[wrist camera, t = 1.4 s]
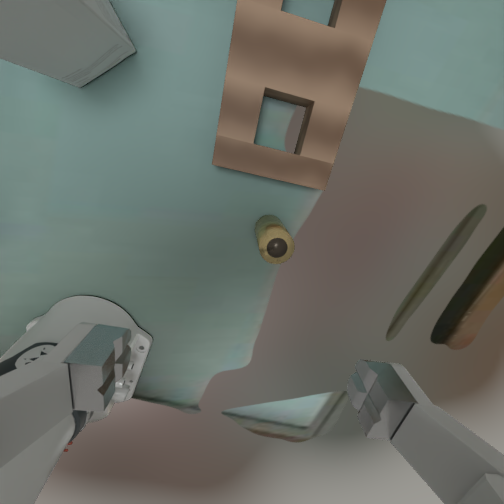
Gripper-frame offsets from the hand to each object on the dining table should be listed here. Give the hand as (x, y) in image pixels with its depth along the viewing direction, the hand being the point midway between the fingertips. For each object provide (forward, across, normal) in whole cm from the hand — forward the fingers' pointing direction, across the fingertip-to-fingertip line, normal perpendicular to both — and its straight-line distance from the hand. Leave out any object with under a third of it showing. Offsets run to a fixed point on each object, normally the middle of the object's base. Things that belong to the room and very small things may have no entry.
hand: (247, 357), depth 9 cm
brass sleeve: (+27, -4, +2) cm, 27 cm away
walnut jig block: (+27, -2, -17) cm, 32 cm away
